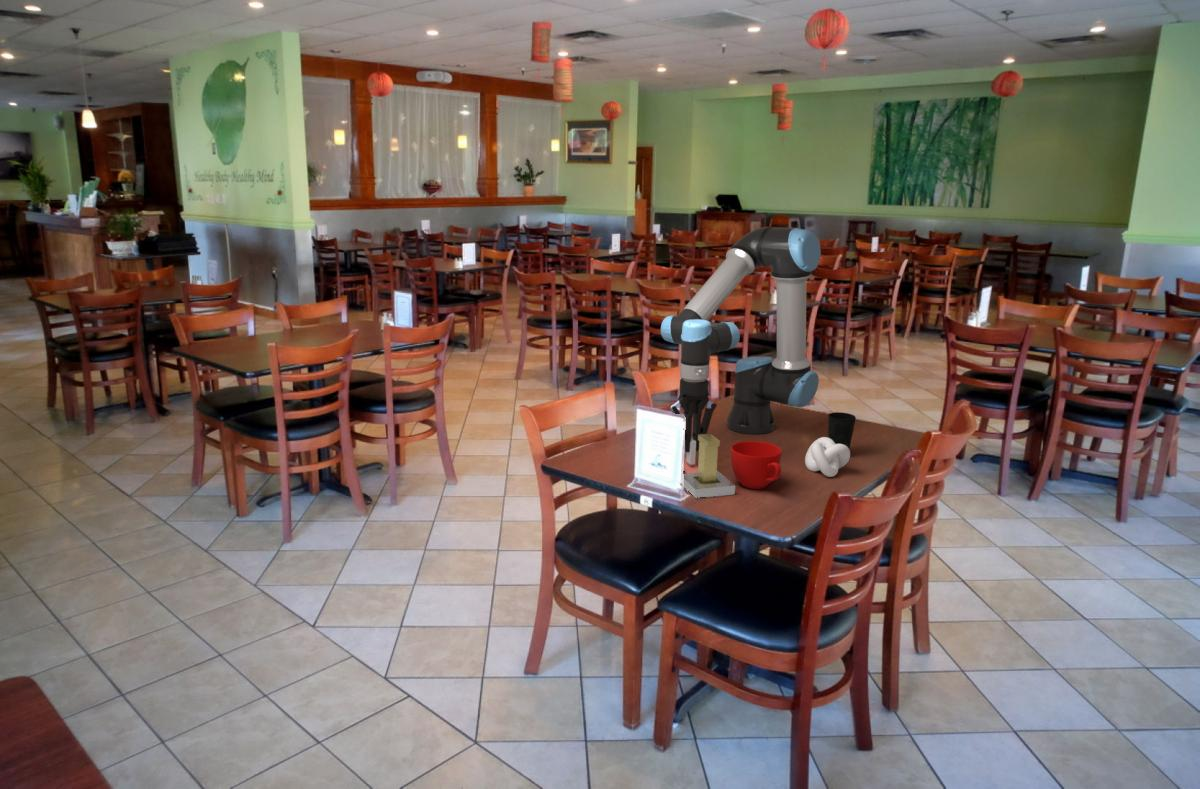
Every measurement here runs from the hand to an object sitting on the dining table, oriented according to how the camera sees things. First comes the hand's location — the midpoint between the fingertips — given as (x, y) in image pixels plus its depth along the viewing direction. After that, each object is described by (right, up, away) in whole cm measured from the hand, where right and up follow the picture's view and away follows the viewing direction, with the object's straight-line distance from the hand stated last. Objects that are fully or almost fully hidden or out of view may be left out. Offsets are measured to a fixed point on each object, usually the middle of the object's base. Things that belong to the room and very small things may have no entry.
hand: (690, 462), depth 220 cm
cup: (+45, +1, +18) cm, 49 cm away
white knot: (+37, -3, +3) cm, 37 cm away
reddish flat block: (0, -2, 0) cm, 2 cm away
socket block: (+3, -6, -9) cm, 12 cm away
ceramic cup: (+17, -6, -8) cm, 19 cm away
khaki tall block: (+3, -6, -9) cm, 12 cm away
